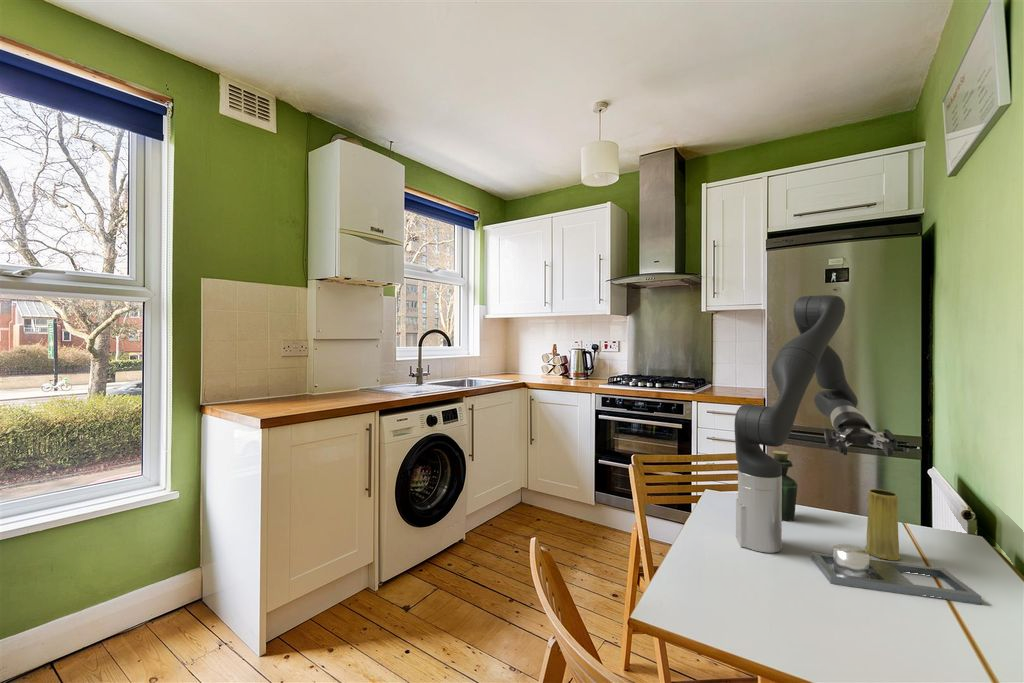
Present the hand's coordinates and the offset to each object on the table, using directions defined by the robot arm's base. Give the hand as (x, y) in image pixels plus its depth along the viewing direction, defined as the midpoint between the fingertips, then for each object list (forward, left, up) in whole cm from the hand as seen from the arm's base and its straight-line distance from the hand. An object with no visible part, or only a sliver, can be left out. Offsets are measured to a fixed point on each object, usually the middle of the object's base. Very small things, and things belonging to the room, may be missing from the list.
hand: (867, 452), depth 108 cm
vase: (+1, -5, -22) cm, 23 cm away
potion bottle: (-15, +14, -22) cm, 31 cm away
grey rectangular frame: (-3, -18, -22) cm, 29 cm away
